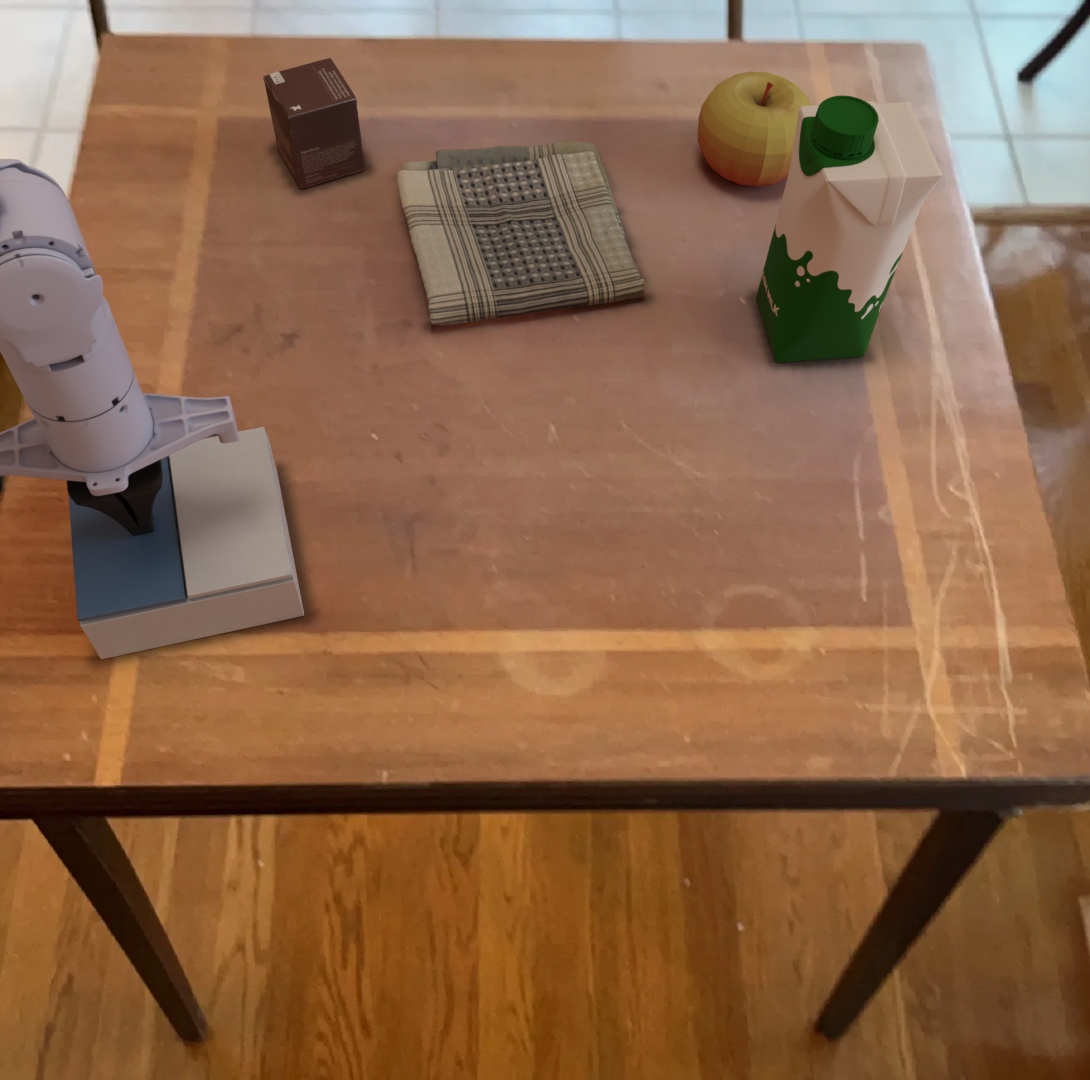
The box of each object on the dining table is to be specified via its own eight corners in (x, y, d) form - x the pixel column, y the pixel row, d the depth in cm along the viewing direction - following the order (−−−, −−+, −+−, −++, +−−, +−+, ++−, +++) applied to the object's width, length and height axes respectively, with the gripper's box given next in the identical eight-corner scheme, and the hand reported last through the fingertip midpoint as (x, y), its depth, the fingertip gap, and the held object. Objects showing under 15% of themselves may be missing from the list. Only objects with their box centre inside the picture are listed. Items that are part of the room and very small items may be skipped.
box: (366, 172, 100) (358, 99, 94) (299, 191, 99) (286, 118, 93) (341, 129, 103) (331, 55, 97) (275, 147, 102) (261, 73, 95)
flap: (79, 622, 71) (77, 618, 70) (67, 466, 77) (65, 463, 76) (186, 600, 72) (185, 597, 72) (167, 449, 78) (165, 446, 78)
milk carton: (742, 290, 94) (796, 73, 78) (850, 283, 95) (927, 67, 79) (766, 373, 90) (829, 161, 73) (880, 365, 91) (968, 154, 74)
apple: (802, 134, 105) (823, 55, 98) (806, 209, 100) (828, 131, 93) (693, 124, 105) (707, 45, 99) (691, 198, 100) (705, 120, 93)
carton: (100, 659, 75) (76, 619, 70) (88, 508, 81) (64, 462, 76) (304, 616, 77) (293, 574, 73) (277, 472, 83) (265, 425, 79)
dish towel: (650, 304, 93) (655, 274, 91) (427, 335, 91) (425, 305, 88) (594, 151, 103) (597, 120, 100) (391, 175, 100) (388, 144, 98)
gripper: (-66, 465, 59) (24, 599, 71) (225, 412, 62) (266, 550, 73) (-66, 361, 63) (20, 505, 74) (209, 315, 65) (251, 461, 77)
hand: (142, 521), depth 74 cm, fingers closed
